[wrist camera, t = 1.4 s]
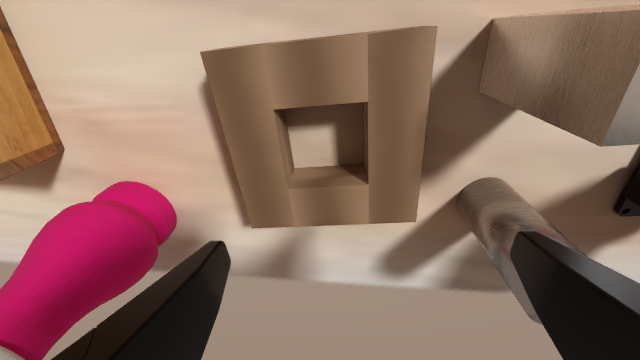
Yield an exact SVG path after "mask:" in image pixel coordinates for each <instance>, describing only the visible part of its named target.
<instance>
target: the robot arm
mask: <svg viewBox="0 0 640 360" xmlns="http://www.w3.org/2000/svg"><path fill="white" fill-rule="evenodd" d="M614 212H615V213H616V214H618V215H620V216H640V164H639V166H638V167H637V169H636V171H635V173H634V174H633V176H632V178H631V180H630V181H629V183H628V185H627V187H626V188H625V190H624V192H623V194H622V195H621V197H620V199H619V201H618V202H617V204H616V206H615V208H614ZM510 258H511V261H512V263H513V265H514V267H515V270H516V272H517V274H518V276H519V278H520V280H521V283H522V285H523V287H524V289H525V291H526V294H527V296H528V298H529V300H530V302H531V304H532V306H533V308H534V310H535V312H536V314H537V315H538V317H539V319H540V321H541V322H542V324H543V326H544V328H545V329H546V331H547V333H548V334H549V336H550V338H551V339H552V341H553V343H554V345H555V346H556V348H557V350H558V351H559V353H560V355H561V356H562V358H563V360H640V284H639V283H637V282H635V281H634V280H632V279H630V278H628V277H626V276H624V275H622V274H620V273H618V272H616V271H614V270H612V269H610V268H608V267H606V266H604V265H602V264H600V263H598V262H596V261H594V260H592V259H590V258H588V257H586V256H584V255H582V254H580V253H578V252H576V251H574V250H572V249H570V248H568V247H566V246H564V245H562V244H560V243H558V242H556V241H554V240H553V239H551V238H549V237H547V236H545V235H543V234H541V233H539V232H537V231H532V230H531V231H519V232H517V233H516V235H515V238H514V241H513V244H512V247H511V249H510ZM230 264H231V260H230V256H229V253H228V251H227V248H226V246H225V243H224V242H223V241H210V242H208V243H207V244H206V245H204V246H203V247H202V248H200V249H199V250H198V251H196V252H195V253H194V254H192V255H191V256H190V257H188V258H187V259H186V260H184V261H183V262H182V263H180V264H179V265H178V266H176V267H175V268H173V269H172V270H171V271H169V272H168V273H167V274H166V275H164V276H163V277H161V278H160V279H159V280H158V281H156V282H155V283H154V284H152V285H151V286H150V287H148V288H147V289H145V290H144V291H143V292H141V293H140V294H139V295H137V296H136V297H135V298H134V299H132V300H131V301H129V302H128V303H127V304H125V305H124V306H123V307H122V308H120V309H119V310H117V311H116V312H115V313H113V314H112V315H111V316H109V317H108V318H107V319H105V320H104V321H103V322H101V323H100V324H99V325H97V327H96V328H93V329H92V330H91V331H89V332H88V333H86V334H85V335H84V336H82V337H81V338H80V339H79V340H77V341H76V342H74V343H73V344H72V345H70V346H69V347H67V348H66V349H65V350H63V351H62V352H61V353H60V354H58V355H56V356H55V357H54V358H52V359H51V360H201V358H202V355H203V353H204V350H205V347H206V344H207V341H208V339H209V336H210V333H211V331H212V328H213V325H214V322H215V320H216V317H217V314H218V311H219V308H220V304H221V300H222V296H223V293H224V288H225V285H226V281H227V277H228V273H229V269H230Z"/></svg>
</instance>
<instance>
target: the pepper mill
mask: <svg viewBox="0 0 640 360" xmlns="http://www.w3.org/2000/svg"><path fill="white" fill-rule="evenodd" d="M175 226H176V214H175V211H174V209H173V207H172V205H171V204H170V202H169V201H168V200H167V199H166V198H165V197H164V196H163V195H162V194H160V193H159V192H158V191H157V190H155V189H153V188H151V187H149V186H147V185H144V184H141V183H138V182H129V181H125V182H118V183H116V184H113V185H111V186H110V187H109V188H107V189H106V190H104V191H103V192H101V193H100V194H99V195H97V196H96V197H95V198H94V199H93V201H92V202H84V203H78V204H75V205H73V206H70V207H68V208H66V209H64V210H63V211H61V212H60V213H59V214H58V215H56V216H55V217H54V218H53V219H51V220H50V221H49V222H48V223H47V224H46V225H45V226H44V227H43V228H42V230H41V231H40V232H39V233H38V235H37V236H36V237H35V238H34V240H33V241H32V243H31V245H30V246H29V248H28V250H27V252H26V253H25V255H24V257H23V259H22V260H21V262H20V264H19V265H18V267H17V268H16V270H15V271H14V273H13V275H12V276H11V278H10V279H9V280H8V281H7V283H6V284H5V285H4V286H3V287H2V288H1V289H0V360H42V359H43V358H44V357H45V355H46V354H47V353H48V351H49V350H50V349H51V348H52V346H53V345H54V344H55V343H56V342H57V341H58V340H59V339H60V338H61V337H62V336H63V335H64V334H65V333H66V332H67V331H68V330H69V329H70V328H71V327H72V326H73V325H74V324H75V323H76V322H78V321H79V320H80V319H81V318H83V317H84V316H85V315H86V314H87V313H89V312H90V311H92V310H94V309H95V308H97V307H98V306H100V305H101V304H103V303H105V302H107V301H109V300H111V299H112V298H114V297H116V296H118V295H119V294H121V293H123V292H125V291H126V290H127V289H129V288H130V287H131V286H133V285H134V284H135V283H137V282H138V281H139V280H140V279H142V278H143V276H144V275H145V274H146V273H147V272H148V271H149V270H150V269H151V268H152V266H153V264H154V263H155V261H156V259H157V254H158V246H160V245H161V244H162V243H163V242H164V241H165V240H166V239H167V238H168V236H169V235H170V234H171V233H172V231H173V230H174V228H175Z"/></svg>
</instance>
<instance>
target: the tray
mask: <svg viewBox="0 0 640 360" xmlns="http://www.w3.org/2000/svg"><path fill="white" fill-rule="evenodd" d="M63 150H64V147H63V144H62V142H61V140H60V138H59V135H58V133H57V131H56V129H55V126H54V124H53V122H52V120H51V118H50V115H49V113H48V111H47V109H46V106H45V104H44V102H43V100H42V98H41V95H40V93H39V91H38V89H37V87H36V84H35V82H34V80H33V78H32V75H31V73H30V71H29V69H28V67H27V64H26V62H25V60H24V58H23V56H22V53H21V51H20V49H19V47H18V45H17V42H16V40H15V38H14V36H13V34H12V31H11V29H10V27H9V25H8V23H7V21H6V18H5V16H4V14H3V12H2V10H1V7H0V180H2V179H4V178H7V177H9V176H11V175H13V174H15V173H17V172H19V171H22V170H24V169H26V168H28V167H31V166H33V165H35V164H37V163H40V162H42V161H44V160H46V159H48V158H50V157H52V156H54V155H56V154H57V153H59V152H61V151H63Z"/></svg>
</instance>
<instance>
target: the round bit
mask: <svg viewBox="0 0 640 360" xmlns="http://www.w3.org/2000/svg"><path fill="white" fill-rule="evenodd" d="M457 208H458V211H459V212H460V214H461V215H462V217H463V218H464V220H465V221H466V223H467V224H468V226H469V227H470V229H471V230H472V232H473V233H474V235H475V236H476V238H477V239H478V241H479V242H480V244H481V245H482V247H483V248H484V250H485V251H486V253H487V254H488V256H489V257H490V259H491V261H492V262H493V264H494V265H495V267H496V268H497V270H498V271H499V273H500V274H501V276H502V277H503V279H504V280H505V282H506V283H507V285H508V286H509V288H510V289H511V291H512V292H513V294H514V295H515V297H516V298H517V300H518V301H519V303H520V304H521V306H522V307H523V309H524V310H525V312H526V313H527V315H528V316H529V318H531V319H532V320H533V321H535V322H537V323H540V324H542V322H541V321H540V319H539V317H538V315H537V314H536V312H535V310H534V308H533V306H532V304H531V302H530V300H529V298H528V296H527V294H526V291H525V289H524V287H523V285H522V283H521V280H520V278H519V276H518V274H517V272H516V270H515V267H514V265H513V263H512V261H511V258H510V249H511V247H512V244H513V241H514V238H515V235H516V233H517V232H519V231H531V230H532V231H537V232H539V233H541V234H543V235H545V236H547V237H549V238H551V239H553V240H554V241H556V242H558V243H560V244H562V245H564V246H566V247H568V248H570V249H572V250H574V251H576V252H578V253H580V254H582V255H584V254H583V253H582V252H581V251H580V250H579V249H578V248H577V247H576V246H575V245H573V244H572V243H571V242H570V241H569V240H568V239H567V238H566V237H565V236H564V235H563V234H561V233H560V232H559V231H558V230H557V229H556V228H555V227H554V226H553V225H552V224H551V223H550V222H548V221H547V220H546V219H545V218H544V217H543V216H542V215H541V214H540V213H539V212H538V211H536V210H535V209H534V208H533V207H532V206H531V205H530V204H529V203H528V202H527V201H526V200H525V199H523V198H522V197H521V196H520V195H519V194H518V193H517V192H516V191H515V190H514V189H513V188H511V187H510V186H509V185H508V184H507V183H506V182H505V181H503V180H501V179H498V178H483V179H479V180H477V181H474V182H472V183H471V184H469V185H468V186H466V187H465V188H464V189H463V190H462V191H461V193H460V194H459V196H458V199H457ZM584 256H585V255H584ZM586 257H587V256H586Z"/></svg>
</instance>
